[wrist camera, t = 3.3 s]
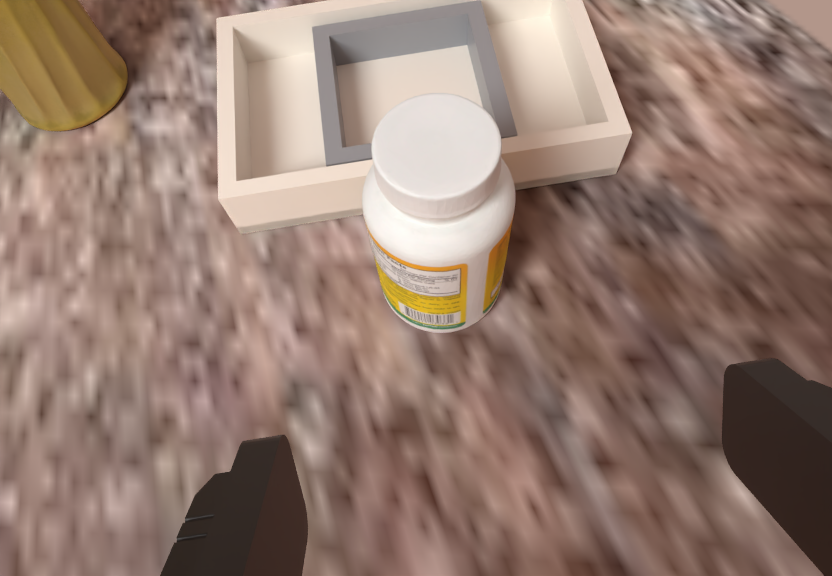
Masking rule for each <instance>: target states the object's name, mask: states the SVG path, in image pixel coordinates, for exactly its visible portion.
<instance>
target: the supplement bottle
mask: <svg viewBox="0 0 832 576" xmlns="http://www.w3.org/2000/svg"><path fill="white" fill-rule="evenodd" d="M371 150H372V159H373V165H372V166H371V168H370V170H369V172H368V174H367V176H366V179H365V182H364V186H363V192H362V209H363V215H364V219H365V223H366V227H367V231H368V235H369V239H370V243H371V246H372V251H373V253H374V257H375V261H376V266H377V269H378V274H379V277H380V283H381V286H382V289H383V293H384V295H385V298H386V300H387V302H388V304H389V305H390V307H391V308H392V310H393V311H394V312H395V313H396V314H397V315H398V316H399V317H400V318H401V319H402V320H404V321H405V322H407V323H408V324H410V325H412V326H414V327H416V328H418V329H421V330H425V331H429V332H435V333H448V332H454V331H458V330H461V329H464V328H467V327H469V326H471V325H473V324H475V323H476V322H478V321H479V320H480V319H482V318H483V317H484V316H485V315H486V314H487V313H488V312H489V311H490V309H491V308H492V307H493V305H494V303H495V301H496V299H497V297H498V295H499V292H500V289H501V284H502V279H503V273H504V267H505V262H506V256H507V250H508V244H509V238H510V232H511V227H512V221H513V216H514V210H515V186H514V182H513V178H512V175H511V173H510V171H509V168H508V166H507V165H506V163H505V162H504V160H503V159H502V158H501V155H502V140H501V135H500V132H499V129H498V126H497V124H496V122H495V121H494V119H493V118H492V116H491V115H490V114H489V113H488V112H487V111H486V110H485V109H484V108H482V107H481V106H480V105H478V104H477V103H475V102H473V101H471V100H469V99H467V98H464V97H462V96H459V95H454V94H448V93H429V94H422V95H418V96H414V97H412V98H409V99H407V100H405V101H403V102H401V103H399V104H398V105H396V106H395V107H393V108H392V109H391V110H390V111H388V112H387V114H386V115H385V116H384V117H383V118H382V120H381V121H380V123H379V124H378V126H377V128H376V130H375V132H374V135H373V139H372V146H371Z"/></svg>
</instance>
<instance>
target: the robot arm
mask: <svg viewBox="0 0 832 576" xmlns="http://www.w3.org/2000/svg"><path fill="white" fill-rule="evenodd" d="M722 444H723V449H724V453H725V456H726V459H727V461H728V463H729V465H730V467H731V469H732V470H733V472H734V473H735V474H736V476H737V477H738V478H739V479H740V480H741V481H742V483H743V484H744V485H745V486H746V487H747V488H748V489H749V490H750V492H751V493H752V494H753V495H754V496H755V497H756V498H757V500H758V501H759V502H760V503H761V504H762V505H763V506H764V508H765V509H766V510H767V511H768V512H769V513H770V514H771V515H772V517H773V518H774V519H775V520H776V521H777V522H778V523H779V525H780V526H781V527H782V528H783V529H784V530H785V531H786V533H787V534H788V535H789V536H790V537H791V538H792V539H793V541H794V542H795V543H796V544H797V545H798V546H799V547H800V548H801V550H802V551H803V552H804V553H805V554H806V555H807V556H808V558H809V559H810V560H811V561H812V562H813V563H814V564H815V566H816V567H817V568H818V569H819V570H820V571H821V572H822V573H823V575H824V576H832V388H830V387H828V386H825V385H823V384H820V383H818V382H815V381H812V380H811V381H807V380H806V379H804V378H803V377H801V376H800V375H799V374H797V373H796V372H795V371H793V370H792V369H790V368H789V367H788V366H786V365H785V364H784V363H782V362H781V361H779V360H778V359H775V358H769V359H763V360H756V361H750V362H744V363H738V364H732V365H729V366H728V367H727V368H726V371H725V374H724V390H723V420H722ZM307 537H308V523H307V512H306V506H305V502H304V498H303V494H302V490H301V486H300V482H299V479H298V475H297V471H296V467H295V463H294V459H293V456H292V452H291V448H290V444H289V442H288V439H287V437H286V436H285V435H278V436H272V437H266V438H259V439H253V440H247V441H243V442H242V443H241V445H240V447H239V450H238V452H237V455H236V458H235V460H234V463H233V466H232V469H231V471H230V472H225V473H219V474H215V475H214V476H213V477H212V478H211V479H210V480H209V481H208V482H207V483H206V484H205V485H204V486H203V488H202V489H201V490H200V491H199V492H198V493H197V494H196V495H195V497H194V499H193V501H192V503H191V506H190V508H189V510H188V513H187V515H186V517H185V523H183V524H182V526H181V529H180V531H179V533H178V536H177V543H174V545H173V547H172V549H171V552H170V554H169V556H168V559H167V561H166V563H165V566H164V568H163V570H162V572H161V575H160V576H302V571H303V564H304V558H305V552H306V545H307Z"/></svg>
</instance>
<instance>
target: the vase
mask: <svg viewBox="0 0 832 576" xmlns="http://www.w3.org/2000/svg"><path fill="white" fill-rule="evenodd" d="M127 79H128V74H127V67H126V64H125V62H124V60H123V59H122V57H121V56H120V55H119V54H118V53H117V52H116V51H115V50H114V49H113V48H112V47H111V46H110V45H109V44H108V42H107V41H106V40H105V38H104V37H103V35H102V34H101V33H100V31H99V30H98V29H97V27H96V26H95V25H94V23H93V21H92V20H91V18H90V17H89V15H88V14H87V12H86V11H85V9H84V8H83V7H82V5H81V4H80V2H79V1H78V0H0V89H1V90H2V91H3V92H4V94H5V95H6V96H7V97H8V98H9V99H10V100H11V101H12V103H13V104H14V106H15V107H16V109H17V110H18V112H19V113H20V114H21V115H22V117H23V118H24V119H25V120H26V121H27V122H28V123H29V124H30V125H32V126H34V127H37V128H39V129H43V130H47V131H67V130H72V129H77V128H80V127H83V126H86V125H88V124H90V123H92V122H94V121H95V120H97V119H99V118H100V117H102V116H103V115H104V114H106V113H107V112H108V111H110V110H111V109H112V108H113V107H114V106H115V105H116V103H117V102H118V101H119V100H120V98H121V97H122V95H123V93H124V91H125V89H126V85H127Z"/></svg>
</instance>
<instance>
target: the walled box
mask: <svg viewBox="0 0 832 576" xmlns="http://www.w3.org/2000/svg"><path fill="white" fill-rule="evenodd" d="M429 93H448V94H454V95H459V96H462V97H464V98H467V99H469V100H471V101H473V102H475V103H477V104H478V105H480V106H481V107H482V108H484V109H485V110H486V111H487V112H488V113H489V114H490V115H491V116H492V118H493V119H494V121H495V122H496V124H497V126H498V129H499V132H500V135H501V140H502V155H501V158H502V159H503V160H504V162H505V163H506V165H507V166H508V168H509V171H510V173H511V175H512V178H513V182H514V186H515V190H520V189H526V188H532V187H539V186H545V185H551V184H557V183H564V182H570V181H576V180H582V179H589V178H595V177H601V176H607V175H613V174H616V173H617V170H618V168H619V165H620V163H621V160H622V158H623V155H624V153H625V150H626V148H627V145H628V143H629V140H630V138H631V135H632V131H631V128H630V125H629V123H628V120H627V117H626V115H625V112H624V109H623V107H622V104H621V102H620V99H619V96H618V94H617V91H616V88H615V86H614V83H613V80H612V78H611V75H610V72H609V70H608V67H607V64H606V62H605V59H604V56H603V54H602V51H601V48H600V46H599V43H598V41H597V38H596V35H595V33H594V30H593V27H592V25H591V22H590V19H589V17H588V14H587V11H586V9H585V6H584V3H583V1H582V0H327V1H321V2H314V3H308V4H302V5H296V6H289V7H283V8H277V9H271V10H264V11H258V12H252V13H245V14H239V15H233V16H227V17H220V18H217V123H218V200H219V201H220V203H221V205H222V206H223V208H224V209H225V211H226V212H227V214H228V215H229V217H230V218H231V220H232V221H233V223H234V224H235V226H236V227H237V229H238V230H239V232H240V233H241V234H246V233H252V232H258V231H265V230H271V229H277V228H283V227H290V226H296V225H302V224H308V223H314V222H321V221H327V220H333V219H339V218H346V217H352V216H358V215H363V209H362V192H363V186H364V182H365V179H366V176H367V174H368V172H369V170H370V168H371V166H372V165H373V159H372V150H371V146H372V139H373V135H374V132H375V130H376V128H377V126H378V124H379V123H380V121H381V120H382V118H383V117H384V116H385V115H386V114H387V112H388V111H390V110H391V109H392V108H393V107H395V106H396V105H398V104H399V103H401V102H403V101H405V100H407V99H409V98H412V97H414V96H418V95H422V94H429Z"/></svg>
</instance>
